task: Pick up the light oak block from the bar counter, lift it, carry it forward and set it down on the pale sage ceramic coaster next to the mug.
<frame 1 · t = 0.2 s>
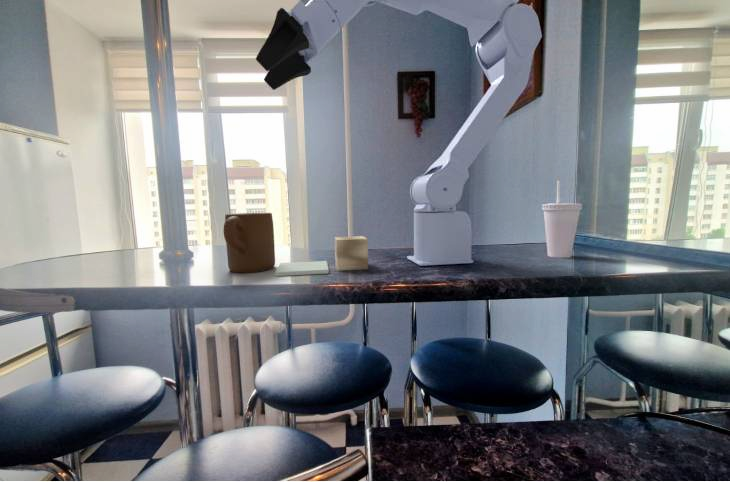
hand: (265, 75, 50), 31 cm above the worktop, tool tilted 45°, fingers open, 7 cm apart
smoothie: (559, 257, 60), on the worktop
oak block: (351, 267, 55), on the worktop
coaster: (303, 269, 53), on the worktop
mug: (247, 272, 53), on the worktop
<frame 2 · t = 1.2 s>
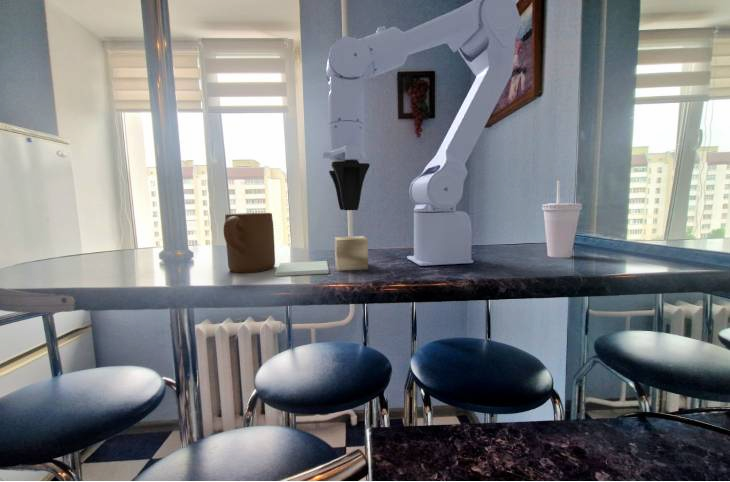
hand: (348, 210, 54), 10 cm above the worktop, tool pointing down, fingers open, 7 cm apart
nothing on the worktop moved.
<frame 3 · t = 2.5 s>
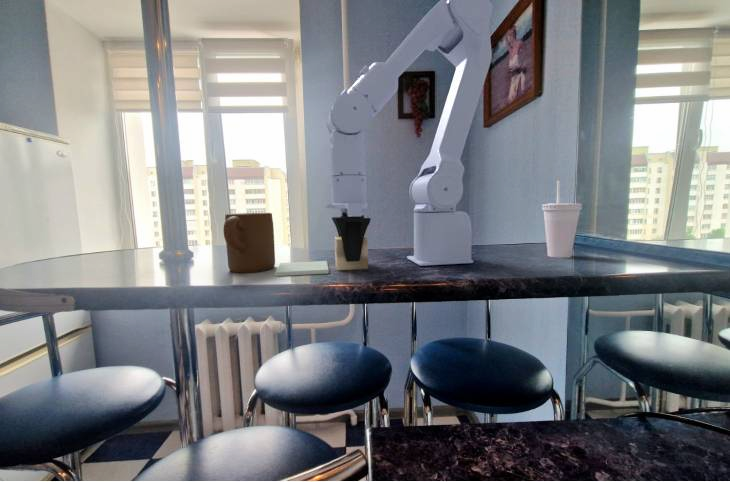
hand: (350, 258, 55), 1 cm above the worktop, tool pointing down, fingers closed on oak block, 5 cm apart
oak block: (351, 266, 55), on the worktop, touching gripper
everything else where it was.
when the fingers open (3 cm above the worktop, at t = 5.6 s): oak block stays where it is, resting on coaster.
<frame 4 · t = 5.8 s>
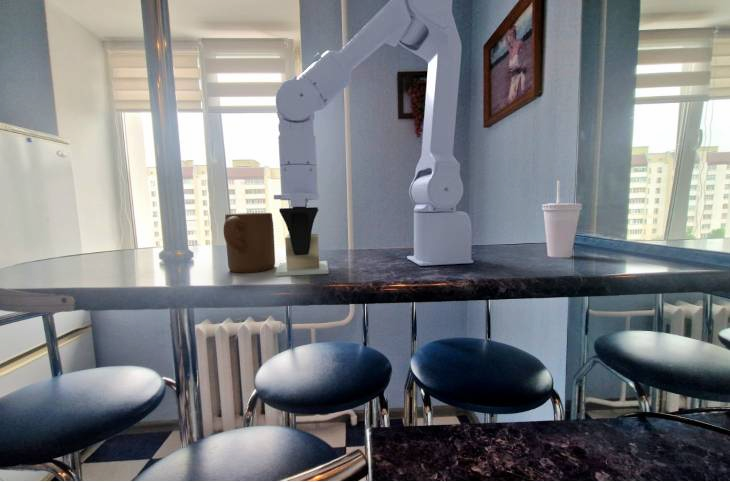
hand: (302, 251, 53), 3 cm above the worktop, tool pointing down, fingers open, 6 cm apart
oak block: (303, 266, 53), point 1 cm above the worktop, touching coaster
everything else where it was.
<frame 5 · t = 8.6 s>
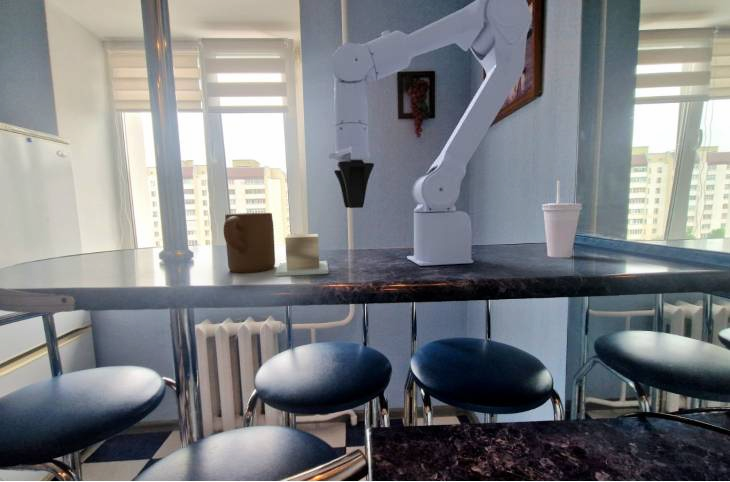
hand: (353, 207, 56), 10 cm above the worktop, tool pointing down, fingers open, 7 cm apart
nothing on the worktop moved.
at the end: oak block inside the target area on the coaster (0.1 cm from its centre), point 0.6 cm above the coaster's base; oak block tilted 0°; the gripper is holding nothing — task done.
